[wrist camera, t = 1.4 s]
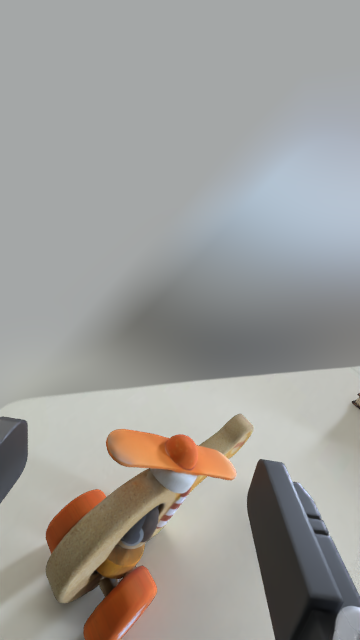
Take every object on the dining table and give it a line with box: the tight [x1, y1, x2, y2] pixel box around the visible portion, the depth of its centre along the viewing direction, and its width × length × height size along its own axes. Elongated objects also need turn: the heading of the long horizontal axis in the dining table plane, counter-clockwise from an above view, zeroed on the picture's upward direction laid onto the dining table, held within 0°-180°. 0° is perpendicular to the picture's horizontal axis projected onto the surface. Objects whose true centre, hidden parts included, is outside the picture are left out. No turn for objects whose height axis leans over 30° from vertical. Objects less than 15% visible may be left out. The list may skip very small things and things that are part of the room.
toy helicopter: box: [46, 414, 254, 640], centre depth 22 cm, size 8×21×14 cm, turn 132°
